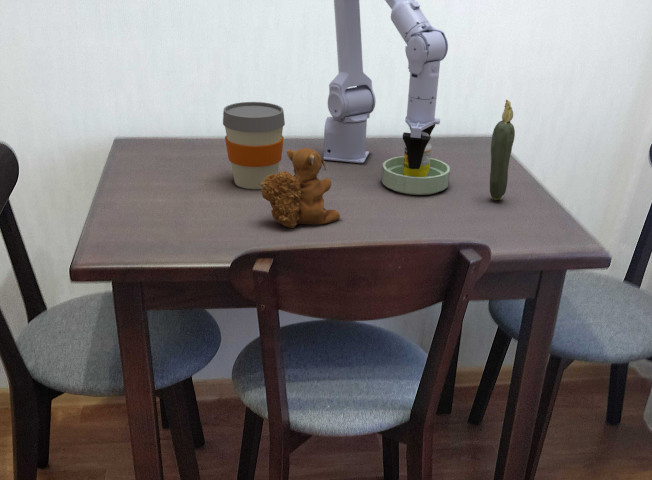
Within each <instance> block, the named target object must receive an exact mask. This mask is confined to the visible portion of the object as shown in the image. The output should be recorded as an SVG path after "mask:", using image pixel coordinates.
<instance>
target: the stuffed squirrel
mask: <svg viewBox="0 0 652 480" xmlns="http://www.w3.org/2000/svg"><path fill="white" fill-rule="evenodd" d="M286 155H287V157H288V158H289V160H290V161H291V163H292V166H293V173H294V175H293V174H291V173H290V172H289V171H285V170H280V171H278V174H273V175H268V176H267V177H266V178H265V180H262V182H261V183H259V185H260V186H262V187H264V188H263V189H260V193H261V196H262V198H263V199H264V200H266V201H268V202H269V203H270V206H271V208H272V209H271V210H270V211H271V215H272V218H273V220H274V221H276V222H277V223H279V224H280V225H282V226H283V227H287V228H289V229H295V227H296V226H297V225H301V224H303V225H327V224H329V223H333V222H335V221H338V220H339V219H340V217H341V213H340V212H339V211H338V210H336V209H325V200H324V199H325V198H323V197H324V195H325V193H327V192H328V191H330V189H331V187H332V180H331V179H330V178H329V177H324V178H322V179H320V178H318V174H319V173H320V171H321V169H322V168H323V167H324V171H327V169H329V167H328V165H327V163H326V161H325V160H324V159H323V158H322V156H321V154H320V153H319V152H317V150H315V149H313V148H310V147H303V148H299V149H296V150H295V151H294V150H293V149H287V150H286Z"/></svg>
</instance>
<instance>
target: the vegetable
mask: <svg viewBox="0 0 652 480" xmlns="http://www.w3.org/2000/svg"><path fill="white" fill-rule="evenodd" d="M511 104H512V103H511V101H510V100H509V99H505V104H504V106H503V107H504V109H503V112H502V114H501V120H500V121H498V122H497V123H496V125H494V128H493V131H492V134H491V142H490V173H489V194H490V196H491V198H492V199H493V200H494V201H498V200H501V199H503V196H504V195H506V192H507V186H508V177H509V167H510V159H511V154H512V150H513V145H514V142H515V136H516V130H515V126H514V125H513V123H512V122H511V121H512V120H513V118H514V110H513V107H512V106H511Z"/></svg>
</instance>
